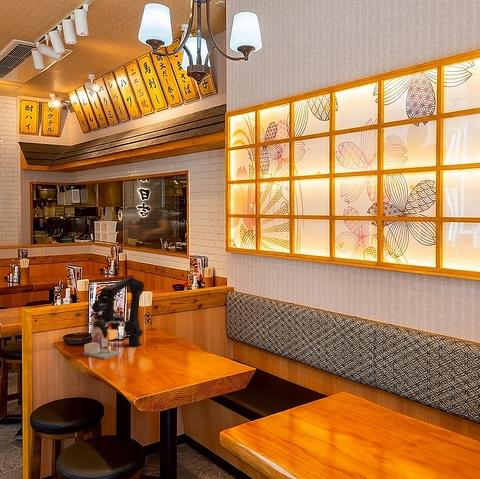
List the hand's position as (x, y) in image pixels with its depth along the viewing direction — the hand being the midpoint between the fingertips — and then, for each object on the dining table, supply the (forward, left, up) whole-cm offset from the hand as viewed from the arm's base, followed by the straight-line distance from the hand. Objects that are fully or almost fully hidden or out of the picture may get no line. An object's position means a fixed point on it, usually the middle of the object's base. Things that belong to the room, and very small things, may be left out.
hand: (109, 336), depth 285 cm
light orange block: (0, 0, -1) cm, 1 cm away
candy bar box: (-11, -19, -11) cm, 24 cm away
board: (+2, -4, -11) cm, 12 cm away
